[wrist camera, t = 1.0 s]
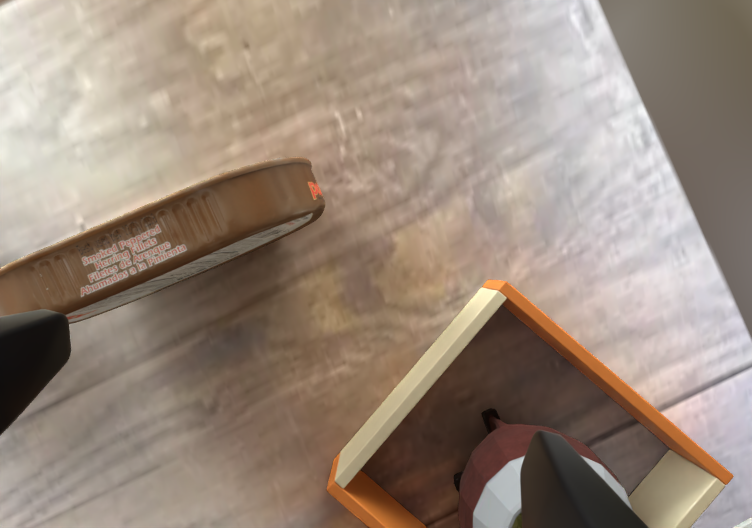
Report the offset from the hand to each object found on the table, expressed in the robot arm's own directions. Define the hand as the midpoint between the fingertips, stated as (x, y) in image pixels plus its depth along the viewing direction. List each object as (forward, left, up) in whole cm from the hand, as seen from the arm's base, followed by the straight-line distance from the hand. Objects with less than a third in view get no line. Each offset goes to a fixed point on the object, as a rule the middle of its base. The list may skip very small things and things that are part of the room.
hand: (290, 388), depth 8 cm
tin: (-3, +8, -17) cm, 19 cm away
